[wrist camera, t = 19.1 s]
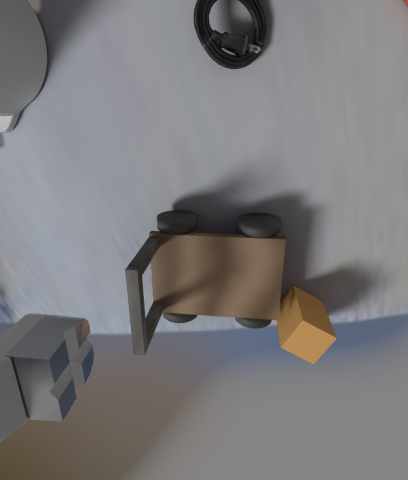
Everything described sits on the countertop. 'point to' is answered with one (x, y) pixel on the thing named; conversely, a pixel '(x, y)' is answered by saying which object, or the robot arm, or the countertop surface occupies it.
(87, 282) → the countertop surface
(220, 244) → the trolley
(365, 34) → the countertop surface
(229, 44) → the milk frother
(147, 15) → the countertop surface
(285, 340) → the block
